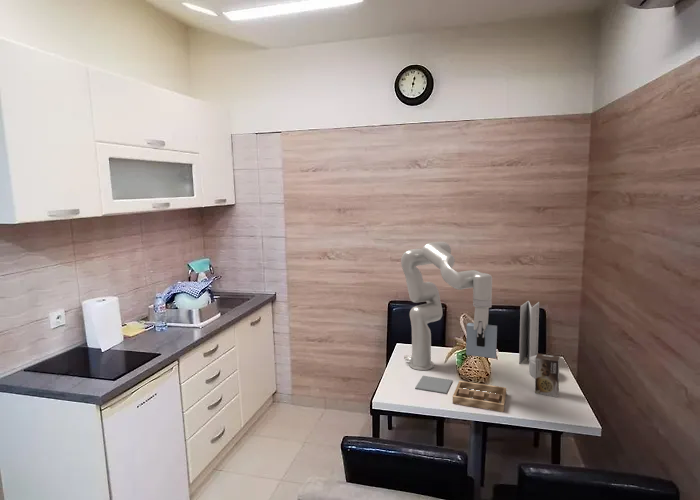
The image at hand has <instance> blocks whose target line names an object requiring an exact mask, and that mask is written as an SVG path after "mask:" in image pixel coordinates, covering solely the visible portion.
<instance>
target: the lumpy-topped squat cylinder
mask: <svg viewBox="0 0 700 500" xmlns="http://www.w3.org/2000/svg"><path fill="white" fill-rule="evenodd" d="M536 356H537V355H535V356H531V357H530V358H529V361H528V364H529V365H528V372H529V375H530V376H531V377H532V378H533V379H535V372H536Z"/></svg>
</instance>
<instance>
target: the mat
mask: <svg viewBox="0 0 700 500" xmlns="http://www.w3.org/2000/svg"><path fill="white" fill-rule="evenodd" d="M452 383H453V380H452V379H447V378H441V377H434V376H428V375H422V376H421V378H420V379H419V380H418V382H417V384H416V386H415V388H414V389H415V390H419V391H426V392H432V393H437V394H445V395H448V393H449V389H450V387H451V385H452Z"/></svg>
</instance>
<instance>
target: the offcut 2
mask: <svg viewBox="0 0 700 500" xmlns="http://www.w3.org/2000/svg"><path fill="white" fill-rule="evenodd" d="M472 399H478V400H484V399H485V393H484V392H478V391H475V392H474V394H473V398H472ZM484 401H485V400H484Z"/></svg>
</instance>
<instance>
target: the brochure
mask: <svg viewBox="0 0 700 500" xmlns="http://www.w3.org/2000/svg"><path fill="white" fill-rule="evenodd" d="M519 312H520V313H519V314H520V319H519V349H518V350H519V352H518V353H519V355H518V356H519V357H518V358H519V359H518V361H519V362H518V364H521V363H522V362H523V361H524V360H525V359H526V358H527V360H528V362H529V358H530V357H531V356H535V355H537V353H539V352H538V351H539V325H540V322H539V321H540V320H539V318H540V316H539V315H540V301H538V302H537V303H536V304H534V305H533V306H532V304H531V303H530V301H529V300H527V301H526V302H524V303H523V304H522V305H520V309H519Z"/></svg>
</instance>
